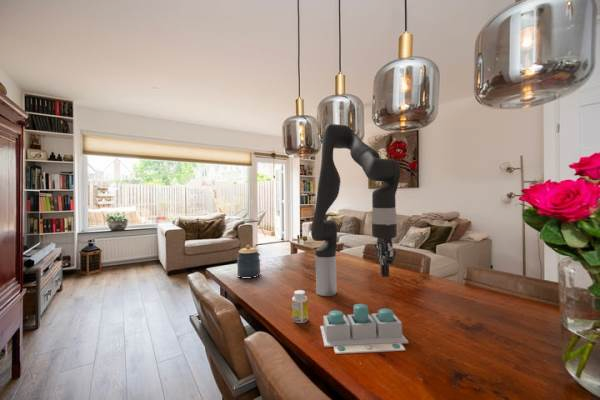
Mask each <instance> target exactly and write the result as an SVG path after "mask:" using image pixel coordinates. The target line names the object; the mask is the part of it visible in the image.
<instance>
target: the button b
mask: <svg viewBox="0 0 600 400" xmlns="http://www.w3.org/2000/svg"><path fill="white" fill-rule="evenodd" d="M353 314H354V322H355V323H369V315H368V314H369V306H368V305H367V304H366V303H365V304H364V303H356V304H354V305H353Z"/></svg>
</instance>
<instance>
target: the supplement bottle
mask: <svg viewBox="0 0 600 400" xmlns="http://www.w3.org/2000/svg"><path fill="white" fill-rule="evenodd" d="M291 302H292V303H291V307H292V309H291V311H292V321H293V322H295V323H297V324H304V323H306V322H308V320H309V311H308V310H309V308H308V307H309V302H308V297H307V296H306V291H305V290H302V289H299V290H295V291H293V296H292V298H291Z"/></svg>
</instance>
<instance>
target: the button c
mask: <svg viewBox="0 0 600 400" xmlns="http://www.w3.org/2000/svg"><path fill="white" fill-rule="evenodd" d="M377 311H378V312H377V313H378V318H379V321H380V322H394V315H395V314H394V310H392V309H390V308H380V309H378V310H377Z"/></svg>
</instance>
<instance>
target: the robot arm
mask: <svg viewBox="0 0 600 400" xmlns="http://www.w3.org/2000/svg"><path fill="white" fill-rule="evenodd" d="M321 140H322V141H321V142H322V144H321V161H320V171H319V178H318V185H317V191H316V192H317V194H316V203H315V209H314V213H313V217H312V221H311V228H310V232H311V233H310V234H311V239H312V240H313V241H315V242H324V243H323V244H322V245H320V246H318V247H317V248H316V249H315V285H316V286H315V287H316V288H315V290H316V294H317V295H319V296H321V297H331V296H332V297H333V296H335V295H336V294H337V261H336V260H337V259H336V257H337V256H336V255H337V254H336V253H337V247H338V246H337V243H338V241H337V239H338V226H337V224H336V222H335V221H334V220H332V219H325V217H326V215H327V212H328V211H329V209H330V208H331V206H332V205H334V204H333V203H334V202H335V201H336V200H337V198H338V196H339V193H340V188H341V187H340V186H341V177H340V174H339V172H338V169H337V167H336V165H335V161H334V149H346V150H347V149H348V150H350V151H349V153H350V156H351V158H352V160H353V161H354V162H355V163H356V164H357V165H359V166H360V167H361V169H362V171H363V172H364V174H365V176H366V177H367V178H368V179H369V180H371V181H373V182H382V185H381V187H380V188H377V189H375V190H373V191H372V195H371V197H372V199H371V204H372V205H371V206H372V207H371V208H372V209H371V210H372V211H371V236H372V237H373V238H376V239H377V241H376V243H374V248H375V253H376V257H377V262H378V261H379V264H380V276H381V277H383V278H389V276H390V265H391V266H392V265H393V263H394V260H395V257H396V255H397V252H396V250H393V248H394V247H393V240H392V239H395V238H397V236H398V226H397V223H398V221H397V217H398V216H397V208H396V206H397V205H396V193H397V190H398V187H399V182H400V179H401V174H402V169H401V165H400V164H399V162H398V161H397V160H396V159H393V158H381V155H380V154H379V152H378V151H377V150H375V149H374V148H372V147H371V146H369V145H368V144H366V143H365V142H364V141H363V140H361V138H360V137H359V136H358V135H357V134H356V133H355V131H354V130H353V129H352V128H351V127H350V126H348V125H345V124H335V123H328V124H326V126H325V127H324V130H323V133H322V139H321Z"/></svg>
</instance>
